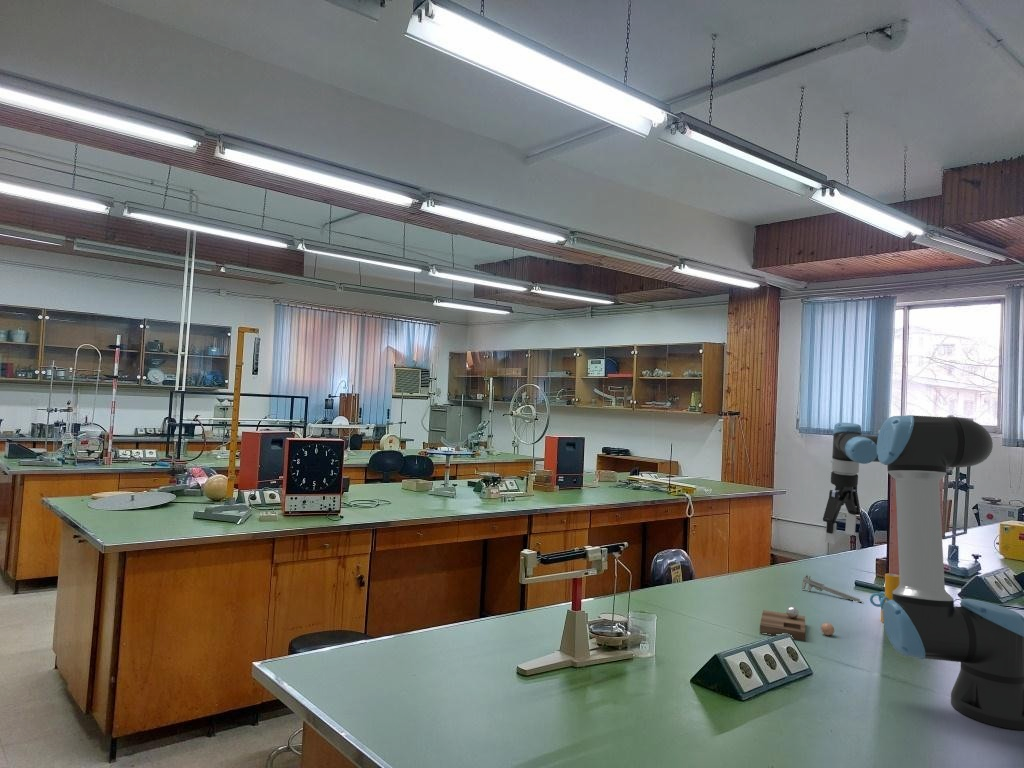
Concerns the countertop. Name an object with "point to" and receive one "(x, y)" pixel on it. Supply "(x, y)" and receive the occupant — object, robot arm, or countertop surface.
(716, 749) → the countertop surface
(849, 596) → the caliper
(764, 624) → the hole plate
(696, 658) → the countertop surface
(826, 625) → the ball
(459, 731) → the countertop surface
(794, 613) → the steel ball
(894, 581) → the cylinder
